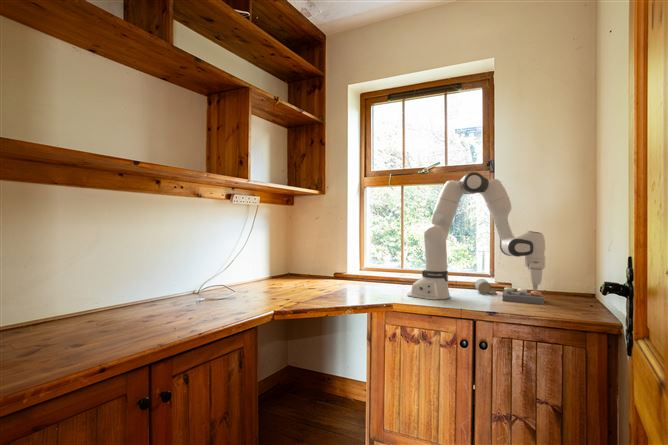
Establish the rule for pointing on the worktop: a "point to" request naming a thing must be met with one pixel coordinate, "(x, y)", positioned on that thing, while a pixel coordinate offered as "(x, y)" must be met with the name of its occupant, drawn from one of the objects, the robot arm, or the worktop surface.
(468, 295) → the worktop surface
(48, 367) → the worktop surface
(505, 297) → the button panel
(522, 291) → the ivory button
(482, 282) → the ceramic mug
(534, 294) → the terracotta button
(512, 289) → the sage button
